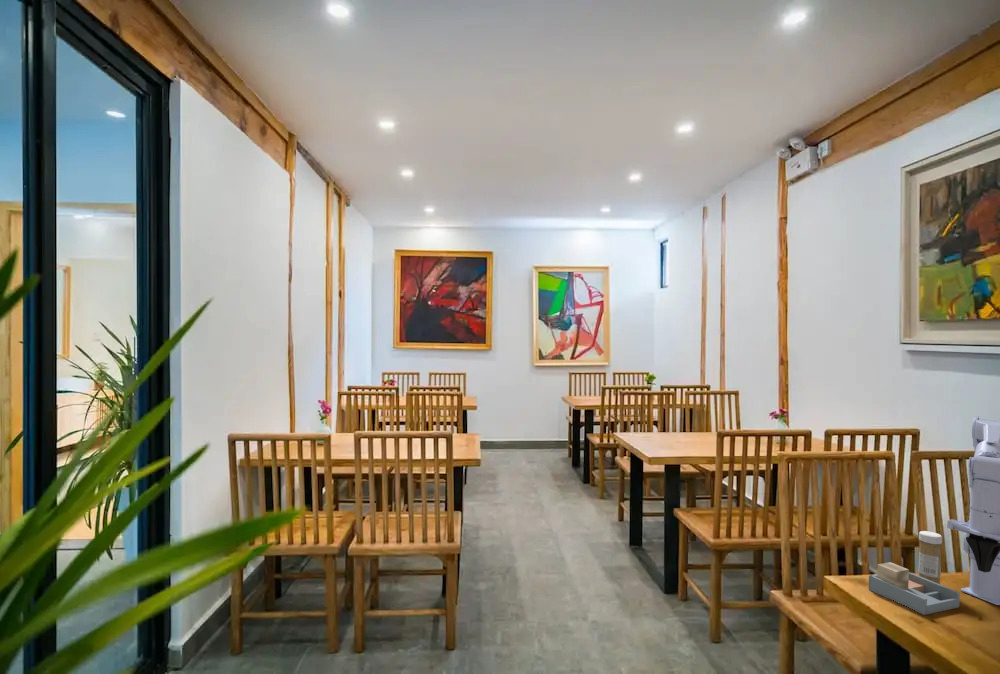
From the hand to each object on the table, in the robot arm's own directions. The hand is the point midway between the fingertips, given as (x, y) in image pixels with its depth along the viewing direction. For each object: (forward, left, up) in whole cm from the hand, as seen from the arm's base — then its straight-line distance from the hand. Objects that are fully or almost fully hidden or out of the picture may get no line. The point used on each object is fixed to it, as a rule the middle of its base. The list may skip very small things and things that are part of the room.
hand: (984, 570), depth 126 cm
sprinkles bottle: (-4, -14, -11) cm, 18 cm away
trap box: (+6, -11, -10) cm, 16 cm away
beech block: (+8, -14, -8) cm, 19 cm away
